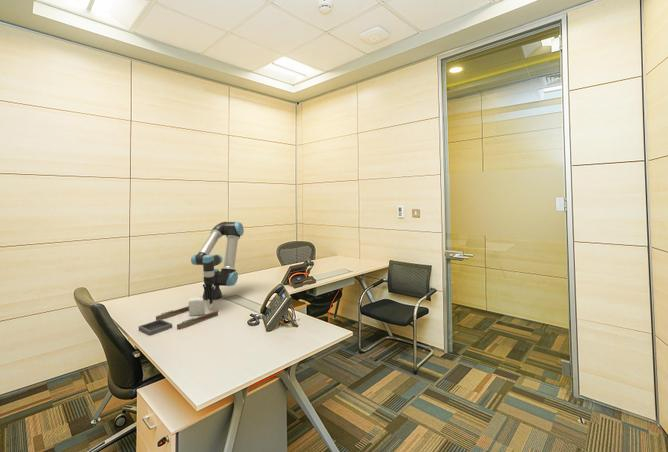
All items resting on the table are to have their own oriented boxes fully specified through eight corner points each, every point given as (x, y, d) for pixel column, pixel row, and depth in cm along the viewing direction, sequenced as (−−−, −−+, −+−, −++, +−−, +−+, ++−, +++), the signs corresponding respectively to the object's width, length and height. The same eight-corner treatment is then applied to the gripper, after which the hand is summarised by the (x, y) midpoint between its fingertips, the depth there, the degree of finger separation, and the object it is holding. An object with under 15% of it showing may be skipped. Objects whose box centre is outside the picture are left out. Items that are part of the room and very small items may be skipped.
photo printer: (188, 316, 227) (187, 299, 226) (190, 314, 231) (189, 297, 230) (203, 315, 229) (203, 298, 228) (205, 313, 233) (204, 296, 232)
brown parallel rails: (155, 320, 220) (155, 315, 219) (195, 307, 244) (195, 303, 244) (178, 329, 204) (178, 324, 204) (218, 315, 229) (218, 310, 228)
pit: (138, 330, 204) (138, 326, 204) (160, 322, 216) (160, 319, 215) (150, 335, 196) (149, 331, 196) (172, 327, 208) (172, 323, 208)
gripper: (199, 276, 237) (200, 307, 239) (210, 278, 230) (211, 310, 232) (208, 273, 243) (209, 304, 246) (219, 276, 236) (220, 307, 238)
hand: (210, 307), depth 239 cm, fingers closed
